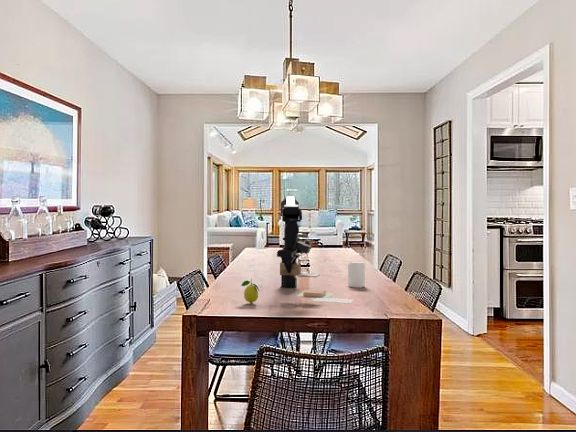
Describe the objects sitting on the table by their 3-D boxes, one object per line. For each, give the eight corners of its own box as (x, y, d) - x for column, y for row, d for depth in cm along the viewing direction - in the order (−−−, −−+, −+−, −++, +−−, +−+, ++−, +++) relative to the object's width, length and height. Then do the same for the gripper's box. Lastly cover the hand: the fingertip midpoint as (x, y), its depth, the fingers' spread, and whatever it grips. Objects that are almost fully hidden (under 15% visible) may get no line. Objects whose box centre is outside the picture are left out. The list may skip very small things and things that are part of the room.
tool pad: (312, 301, 212) (312, 300, 212) (316, 298, 220) (316, 297, 220) (350, 304, 207) (350, 303, 207) (354, 300, 215) (354, 299, 215)
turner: (278, 275, 215) (278, 264, 215) (284, 273, 222) (284, 262, 222) (315, 277, 211) (316, 266, 210) (320, 275, 217) (320, 264, 217)
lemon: (240, 302, 208) (241, 277, 208) (254, 301, 210) (254, 277, 210) (246, 305, 202) (246, 280, 201) (260, 304, 204) (260, 279, 204)
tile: (308, 292, 229) (303, 296, 222) (308, 289, 229) (303, 292, 221) (325, 294, 227) (321, 297, 219) (325, 290, 227) (321, 293, 219)
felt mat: (296, 296, 222) (296, 295, 222) (303, 292, 233) (303, 291, 233) (328, 299, 218) (328, 298, 218) (334, 294, 229) (334, 293, 229)
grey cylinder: (364, 288, 245) (364, 263, 245) (347, 287, 247) (347, 262, 246) (365, 285, 253) (365, 261, 253) (348, 285, 255) (348, 260, 254)
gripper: (303, 237, 206) (302, 276, 206) (315, 234, 224) (314, 270, 224) (276, 236, 209) (276, 274, 210) (290, 233, 227) (290, 269, 227)
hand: (290, 272), depth 218 cm, fingers closed on turner, 3 cm apart
